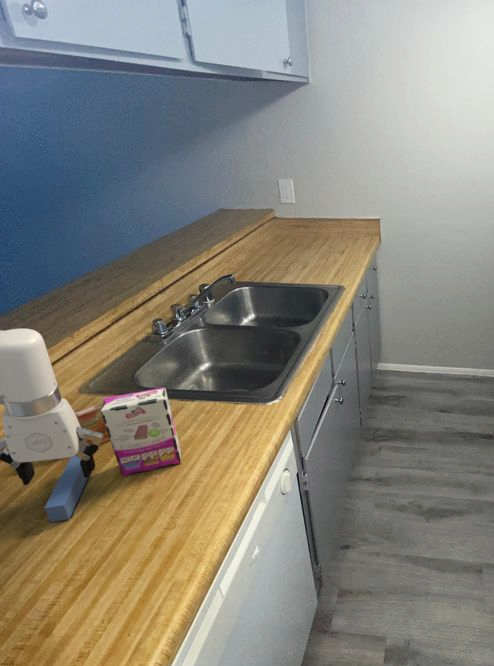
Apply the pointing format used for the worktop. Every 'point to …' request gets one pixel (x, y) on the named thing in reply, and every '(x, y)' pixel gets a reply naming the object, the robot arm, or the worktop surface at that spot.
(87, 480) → the strip
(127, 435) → the candy bar box
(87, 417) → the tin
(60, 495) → the stick
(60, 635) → the worktop surface
